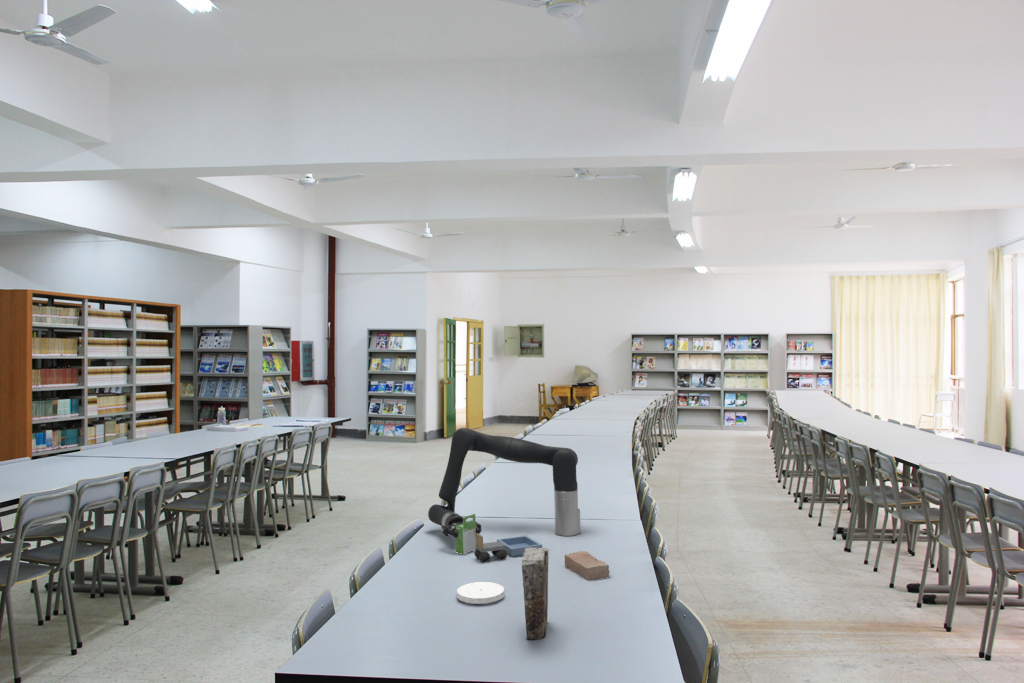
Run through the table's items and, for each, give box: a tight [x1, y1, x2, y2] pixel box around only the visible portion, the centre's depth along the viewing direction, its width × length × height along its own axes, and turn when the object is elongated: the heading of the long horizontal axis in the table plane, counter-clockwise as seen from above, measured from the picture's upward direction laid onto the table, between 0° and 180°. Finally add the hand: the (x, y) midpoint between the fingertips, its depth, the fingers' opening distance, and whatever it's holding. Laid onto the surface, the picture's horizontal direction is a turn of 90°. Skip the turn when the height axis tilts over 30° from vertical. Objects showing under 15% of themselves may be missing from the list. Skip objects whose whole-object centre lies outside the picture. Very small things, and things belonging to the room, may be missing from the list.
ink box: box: [455, 513, 476, 555], centre depth 251 cm, size 7×4×13 cm, turn 141°
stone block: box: [521, 547, 549, 641], centre depth 179 cm, size 13×7×20 cm, turn 178°
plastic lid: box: [456, 581, 505, 605], centre depth 204 cm, size 14×14×2 cm
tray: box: [496, 535, 543, 558], centre depth 251 cm, size 12×14×3 cm
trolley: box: [473, 533, 508, 563], centre depth 241 cm, size 10×6×9 cm, turn 112°
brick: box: [564, 550, 610, 581], centre depth 225 cm, size 17×8×5 cm, turn 23°
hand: (467, 533), depth 249 cm, fingers closed on ink box, 8 cm apart
